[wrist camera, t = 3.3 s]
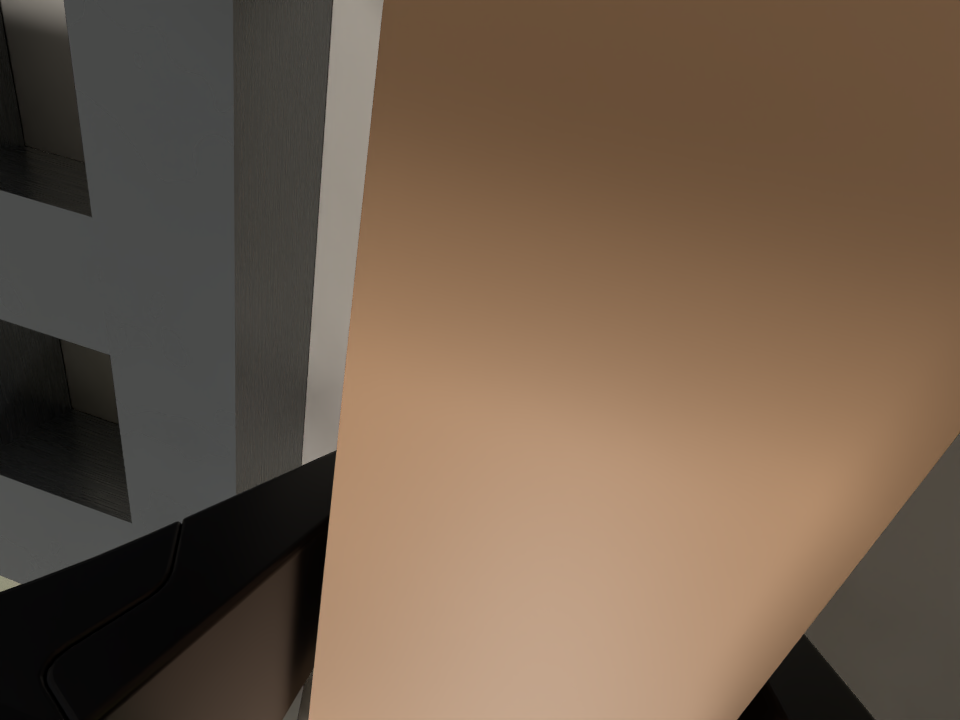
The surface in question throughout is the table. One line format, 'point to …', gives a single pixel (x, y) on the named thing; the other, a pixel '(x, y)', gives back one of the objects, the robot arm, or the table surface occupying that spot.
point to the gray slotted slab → (159, 270)
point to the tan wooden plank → (634, 347)
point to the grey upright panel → (294, 707)
